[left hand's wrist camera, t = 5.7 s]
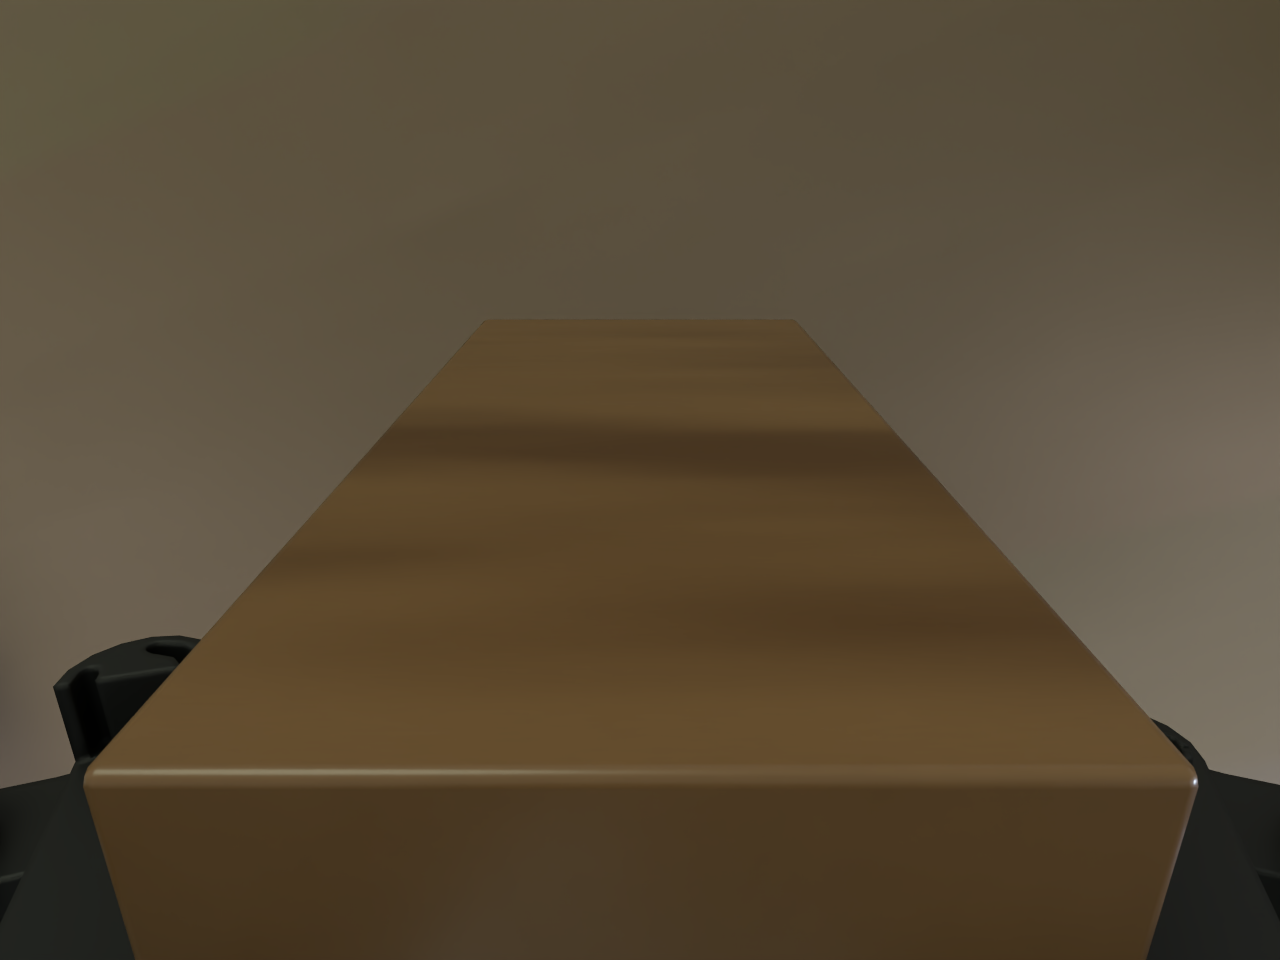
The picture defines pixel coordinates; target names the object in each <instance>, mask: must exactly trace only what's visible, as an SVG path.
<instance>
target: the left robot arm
mask: <svg viewBox="0 0 1280 960" xmlns="http://www.w3.org/2000/svg"><path fill="white" fill-rule="evenodd" d="M200 641H201V640H200V639H195V638H190V637H184V636H160V637H149V638H145V639H140V640H136V641H131V642H127V643H123V644H120V645H117V646H115V647H112V648H109V649H107V650H104V651H102V652H99V653H97V654H94V655H92V656H90V657H89V658H87V659H86V660H84V661H82V662H81V663H79V664H77V665H76V666H74V667H73V668H71V669H69V670H68V671H67V672H66V673H65V674H64V675H63V676H62V678H61V679H60V680H59V681H58V682H57V683H56V684H55V685H54V686H53V688H54V691H55V695H56V698H57V701H58V705H59V708H60V711H61V715H62V718H63V721H64V725H65V728H66V731H67V734H68V738H69V741H70V744H71V748H72V751H73V754H74V758H75V761H76V762H75V764H74V766H73V768H72V771H71V773H70V774H67V775H63V776H60V777H56V778H51V779H46V780H41V781H36V782H31V783H26V784H21V785H17V786H12V787H7V788H2V789H0V960H135V957H134V954H133V951H132V947H131V944H130V941H129V937H128V934H127V931H126V927H125V924H124V921H123V917H122V914H121V911H120V907H119V904H118V901H117V898H116V894H115V891H114V888H113V884H112V881H111V878H110V874H109V871H108V868H107V864H106V861H105V858H104V854H103V851H102V848H101V845H100V841H99V838H98V835H97V831H96V828H95V825H94V821H93V818H92V815H91V811H90V808H89V805H88V801H87V798H86V795H85V792H84V788H83V783H84V776H85V773H86V771H87V768H88V767H89V765H90V764H91V763H92V762H93V761H94V760H95V759H96V758H97V756H98V755H99V754H100V753H101V752H102V751H103V750H104V749H105V747H106V746H107V745H108V744H109V743H110V742H111V741H112V740H113V738H114V737H115V736H116V735H117V734H118V733H119V732H120V731H121V729H122V728H123V727H124V726H125V725H126V724H127V723H128V722H129V720H130V719H131V718H132V717H133V716H134V715H135V714H136V713H137V711H138V710H139V709H140V708H141V707H142V706H143V705H144V704H145V702H146V701H147V700H148V699H149V698H150V697H151V696H152V695H153V693H154V692H155V691H156V690H157V689H158V688H159V687H160V686H161V684H162V683H163V682H164V681H165V680H166V679H167V678H168V677H169V675H170V674H171V673H172V672H173V671H174V670H175V669H176V668H177V666H178V665H179V664H180V663H181V662H182V661H183V660H184V659H185V657H186V656H187V655H188V654H189V653H190V652H191V651H192V650H193V648H194V647H195V646H196V645H197V644H198V643H199V642H200ZM1150 719H1151V718H1150ZM1151 720H1152V721H1153V722H1154V723H1155V724H1156V726H1157V727H1158V728H1159V729H1160V730H1161V731H1162V732H1163V733H1164V734H1165V736H1166V737H1167V738H1168V739H1169V740H1170V741H1171V742H1172V743H1173V745H1174V746H1175V747H1176V748H1177V749H1178V750H1179V751H1180V752H1181V754H1182V755H1183V756H1184V757H1185V758H1186V759H1187V760H1188V761H1189V763H1190V764H1191V765H1192V766H1193V767H1194V769H1195V772H1196V775H1197V779H1198V786H1199V787H1198V790H1197V793H1196V797H1195V800H1194V803H1193V807H1192V810H1191V813H1190V816H1189V820H1188V823H1187V826H1186V830H1185V833H1184V836H1183V840H1182V843H1181V846H1180V850H1179V853H1178V856H1177V859H1176V863H1175V866H1174V869H1173V873H1172V876H1171V879H1170V883H1169V886H1168V889H1167V892H1166V896H1165V899H1164V902H1163V906H1162V909H1161V912H1160V916H1159V919H1158V922H1157V925H1156V929H1155V932H1154V935H1153V939H1152V942H1151V945H1150V949H1149V952H1148V955H1147V958H1146V960H1280V785H1277V784H1272V783H1268V782H1263V781H1258V780H1253V779H1248V778H1243V777H1238V776H1233V775H1228V774H1224V773H1220V772H1216V771H1213V770H1209V769H1208V767H1207V765H1206V763H1205V760H1204V759H1203V758H1202V757H1201V755H1200V754H1199V753H1198V751H1197V750H1196V749H1195V748H1194V746H1193V745H1192V744H1191V742H1189V741H1188V740H1186V739H1185V738H1184V737H1182V736H1181V735H1180V734H1178V733H1177V732H1175V731H1174V730H1173V729H1171V728H1170V727H1168V726H1167V725H1164V724H1162V723H1160V722H1158V721H1156V720H1153V719H1151Z"/></svg>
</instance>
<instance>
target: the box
mask: <svg viewBox="0 0 1280 960" xmlns="http://www.w3.org/2000/svg"><path fill="white" fill-rule="evenodd" d="M1198 787H1199V786H1198V779H1197V775H1196V772H1195V769H1194V767H1193V766H1192V765H1191V764H1190V763H1189V761H1188V760H1187V759H1186V758H1185V757H1184V756H1183V755H1182V754H1181V752H1180V751H1179V750H1178V749H1177V748H1176V747H1175V746H1174V745H1173V743H1172V742H1171V741H1170V740H1169V739H1168V738H1167V737H1166V736H1165V734H1164V733H1163V732H1162V731H1161V730H1160V729H1159V728H1158V727H1157V726H1156V724H1155V723H1154V722H1153V721H1152V720H1151V719H1150V718H1149V717H1148V715H1147V714H1146V713H1145V712H1144V711H1143V710H1142V709H1141V708H1140V706H1139V705H1138V704H1137V703H1136V702H1135V701H1134V700H1133V699H1132V697H1131V696H1130V695H1129V694H1128V693H1127V692H1126V691H1125V690H1124V688H1123V687H1122V686H1121V685H1120V684H1119V683H1118V682H1117V681H1116V680H1115V678H1114V677H1113V676H1112V675H1111V674H1110V673H1109V672H1108V671H1107V669H1106V668H1105V667H1104V666H1103V665H1102V664H1101V663H1100V662H1099V660H1098V659H1097V658H1096V657H1095V656H1094V655H1093V654H1092V653H1091V651H1090V650H1089V649H1088V648H1087V647H1086V646H1085V645H1084V644H1083V643H1082V641H1081V640H1080V639H1079V638H1078V637H1077V636H1076V635H1075V634H1074V632H1073V631H1072V630H1071V629H1070V628H1069V627H1068V626H1067V625H1066V623H1065V622H1064V621H1063V620H1062V619H1061V618H1060V617H1059V616H1058V614H1057V613H1056V612H1055V611H1054V610H1053V609H1052V608H1051V607H1050V605H1049V604H1048V603H1047V602H1046V601H1045V600H1044V599H1043V598H1042V597H1041V595H1040V594H1039V593H1038V592H1037V591H1036V590H1035V589H1034V588H1033V586H1032V585H1031V584H1030V583H1029V582H1028V581H1027V580H1026V579H1025V577H1024V576H1023V575H1022V574H1021V573H1020V572H1019V571H1018V570H1017V568H1016V567H1015V566H1014V565H1013V564H1012V563H1011V562H1010V561H1009V560H1008V558H1007V557H1006V556H1005V555H1004V554H1003V553H1002V552H1001V551H1000V549H999V548H998V547H997V546H996V545H995V544H994V543H993V542H992V540H991V539H990V538H989V537H988V536H987V535H986V534H985V533H984V531H983V530H982V529H981V528H980V527H979V526H978V525H977V524H976V522H975V521H974V520H973V519H972V518H971V517H970V516H969V515H968V514H967V512H966V511H965V510H964V509H963V508H962V507H961V506H960V505H959V503H958V502H957V501H956V500H955V499H954V498H953V497H952V496H951V494H950V493H949V492H948V491H947V490H946V489H945V488H944V487H943V485H942V484H941V483H940V482H939V481H938V480H937V479H936V478H935V477H934V475H933V474H932V473H931V472H930V471H929V470H928V469H927V468H926V466H925V465H924V464H923V463H922V462H921V461H920V460H919V459H918V457H917V456H916V455H915V454H914V453H913V452H912V451H911V450H910V448H909V447H908V446H907V445H906V444H905V443H904V442H903V441H902V439H901V438H900V437H899V436H898V435H897V434H896V433H895V432H894V431H893V429H892V428H891V427H890V426H889V425H888V424H887V423H886V422H885V420H884V419H883V418H882V417H881V416H880V415H879V414H878V413H877V411H876V410H875V409H874V408H873V407H872V406H871V405H870V404H869V402H868V401H867V400H866V399H865V398H864V397H863V396H862V395H861V394H860V392H859V391H858V390H857V389H856V388H855V387H854V386H853V385H852V383H851V382H850V381H849V380H848V379H847V378H846V377H845V376H844V374H843V373H842V372H841V371H840V370H839V369H838V368H837V367H836V365H835V364H834V363H833V362H832V361H831V360H830V359H829V358H828V356H827V355H826V354H825V353H824V352H823V351H822V350H821V349H820V348H819V346H818V345H817V344H816V343H815V342H814V341H813V340H812V339H811V337H810V336H809V335H808V334H807V333H806V332H805V331H804V330H803V328H802V327H801V326H800V325H799V324H798V323H797V322H796V321H794V320H486V321H484V322H483V323H482V324H481V326H480V327H479V328H478V329H477V330H476V331H475V332H474V333H473V335H472V336H471V337H470V338H469V339H468V340H467V341H466V342H465V344H464V345H463V346H462V347H461V348H460V349H459V350H458V351H457V353H456V354H455V355H454V356H453V357H452V358H451V359H450V360H449V362H448V363H447V364H446V365H445V366H444V367H443V368H442V369H441V371H440V372H439V373H438V374H437V375H436V376H435V377H434V378H433V380H432V381H431V382H430V383H429V384H428V385H427V386H426V387H425V389H424V390H423V391H422V392H421V393H420V394H419V395H418V396H417V398H416V399H415V400H414V401H413V402H412V403H411V404H410V405H409V407H408V408H407V409H406V410H405V411H404V412H403V413H402V414H401V416H400V417H399V418H398V419H397V420H396V421H395V422H394V423H393V425H392V426H391V427H390V428H389V429H388V430H387V431H386V432H385V434H384V435H383V436H382V437H381V438H380V439H379V440H378V441H377V443H376V444H375V445H374V446H373V447H372V448H371V449H370V450H369V452H368V453H367V454H366V455H365V456H364V457H363V458H362V459H361V461H360V462H359V463H358V464H357V465H356V466H355V467H354V468H353V470H352V471H351V472H350V473H349V474H348V475H347V476H346V477H345V479H344V480H343V481H342V482H341V483H340V484H339V485H338V486H337V488H336V489H335V490H334V491H333V492H332V493H331V494H330V495H329V497H328V498H327V499H326V500H325V501H324V502H323V503H322V504H321V506H320V507H319V508H318V509H317V510H316V511H315V512H314V513H313V515H312V516H311V517H310V518H309V519H308V520H307V521H306V522H305V524H304V525H303V526H302V527H301V528H300V529H299V530H298V531H297V533H296V534H295V535H294V536H293V537H292V538H291V539H290V540H289V542H288V543H287V544H286V545H285V546H284V547H283V548H282V549H281V551H280V552H279V553H278V554H277V555H276V556H275V557H274V558H273V560H272V561H271V562H270V563H269V564H268V565H267V566H266V567H265V569H264V570H263V571H262V572H261V573H260V574H259V575H258V576H257V578H256V579H255V580H254V581H253V582H252V583H251V584H250V585H249V587H248V588H247V589H246V590H245V591H244V592H243V593H242V594H241V596H240V597H239V598H238V599H237V600H236V601H235V602H234V603H233V605H232V606H231V607H230V608H229V609H228V610H227V611H226V612H225V614H224V615H223V616H222V617H221V618H220V619H219V620H218V621H217V623H216V624H215V625H214V626H213V627H212V628H211V629H210V630H209V632H208V633H207V634H206V635H205V636H204V637H203V638H202V639H201V641H200V642H199V643H198V644H197V645H196V646H195V647H194V648H193V650H192V651H191V652H190V653H189V654H188V655H187V656H186V657H185V659H184V660H183V661H182V662H181V663H180V664H179V665H178V666H177V668H176V669H175V670H174V671H173V672H172V673H171V674H170V675H169V677H168V678H167V679H166V680H165V681H164V682H163V683H162V684H161V686H160V687H159V688H158V689H157V690H156V691H155V692H154V693H153V695H152V696H151V697H150V698H149V699H148V700H147V701H146V702H145V704H144V705H143V706H142V707H141V708H140V709H139V710H138V711H137V713H136V714H135V715H134V716H133V717H132V718H131V719H130V720H129V722H128V723H127V724H126V725H125V726H124V727H123V728H122V729H121V731H120V732H119V733H118V734H117V735H116V736H115V737H114V738H113V740H112V741H111V742H110V743H109V744H108V745H107V746H106V747H105V749H104V750H103V751H102V752H101V753H100V754H99V755H98V756H97V758H96V759H95V760H94V761H93V762H92V763H91V764H90V765H89V767H88V768H87V771H86V773H85V776H84V783H83V788H84V792H85V795H86V798H87V801H88V805H89V808H90V811H91V815H92V818H93V821H94V825H95V828H96V831H97V835H98V838H99V841H100V845H101V848H102V851H103V854H104V858H105V861H106V864H107V868H108V871H109V874H110V878H111V881H112V884H113V888H114V891H115V894H116V898H117V901H118V904H119V907H120V911H121V914H122V917H123V921H124V924H125V927H126V931H127V934H128V937H129V941H130V944H131V947H132V951H133V954H134V957H135V960H1146V958H1147V955H1148V952H1149V949H1150V945H1151V942H1152V939H1153V935H1154V932H1155V929H1156V925H1157V922H1158V919H1159V916H1160V912H1161V909H1162V906H1163V902H1164V899H1165V896H1166V892H1167V889H1168V886H1169V883H1170V879H1171V876H1172V873H1173V869H1174V866H1175V863H1176V859H1177V856H1178V853H1179V850H1180V846H1181V843H1182V840H1183V836H1184V833H1185V830H1186V826H1187V823H1188V820H1189V816H1190V813H1191V810H1192V807H1193V803H1194V800H1195V797H1196V793H1197V790H1198Z"/></svg>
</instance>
